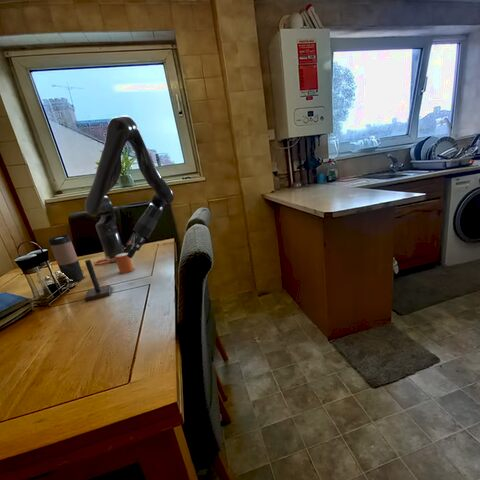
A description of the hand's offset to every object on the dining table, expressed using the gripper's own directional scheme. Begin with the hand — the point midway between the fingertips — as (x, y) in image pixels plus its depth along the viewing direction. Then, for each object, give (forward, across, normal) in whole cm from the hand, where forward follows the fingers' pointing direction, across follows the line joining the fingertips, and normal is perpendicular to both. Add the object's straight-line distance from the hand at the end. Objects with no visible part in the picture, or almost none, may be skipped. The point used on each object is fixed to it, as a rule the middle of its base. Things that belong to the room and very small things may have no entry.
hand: (126, 255), depth 128 cm
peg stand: (+16, +19, -6) cm, 26 cm away
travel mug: (+21, -9, -11) cm, 25 cm away
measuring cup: (+9, 0, +1) cm, 9 cm away
